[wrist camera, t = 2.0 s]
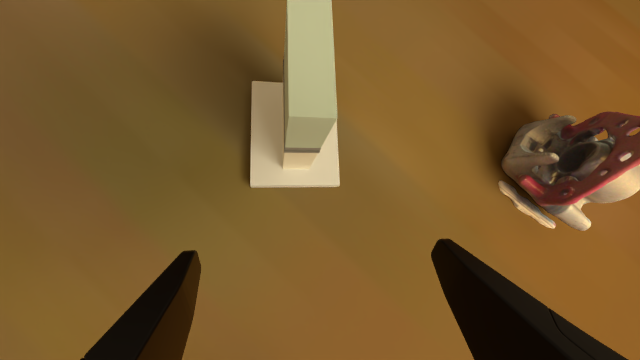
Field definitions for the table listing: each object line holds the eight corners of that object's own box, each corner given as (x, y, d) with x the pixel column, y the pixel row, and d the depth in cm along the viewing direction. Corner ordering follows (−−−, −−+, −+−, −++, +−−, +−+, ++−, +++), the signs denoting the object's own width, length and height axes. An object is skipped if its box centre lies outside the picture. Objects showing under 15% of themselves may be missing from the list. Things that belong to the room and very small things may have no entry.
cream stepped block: (337, 186, 24) (358, 172, 18) (251, 187, 23) (242, 171, 17) (332, 91, 26) (350, 47, 20) (252, 86, 25) (245, 38, 19)
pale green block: (320, 150, 18) (337, 118, 13) (284, 149, 17) (288, 116, 12) (316, 59, 19) (331, -2, 14) (283, 56, 19) (286, -8, 14)
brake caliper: (524, 85, 28) (725, 75, 19) (528, 152, 34) (677, 168, 25) (480, 166, 25) (692, 199, 16) (494, 221, 32) (648, 266, 23)
